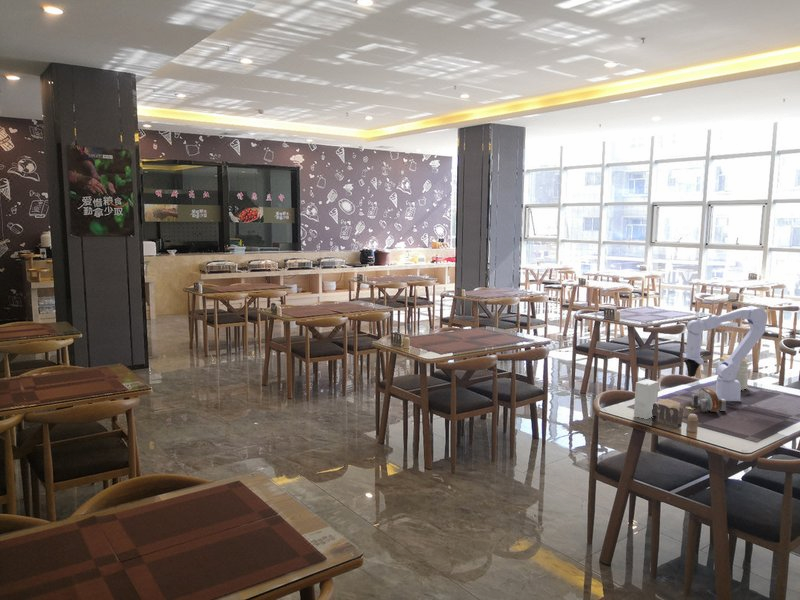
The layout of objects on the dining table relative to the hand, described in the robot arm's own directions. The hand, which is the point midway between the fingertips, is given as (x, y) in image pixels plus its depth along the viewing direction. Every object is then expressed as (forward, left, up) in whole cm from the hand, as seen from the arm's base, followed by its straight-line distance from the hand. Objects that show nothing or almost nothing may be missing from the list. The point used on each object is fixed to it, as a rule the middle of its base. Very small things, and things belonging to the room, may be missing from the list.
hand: (691, 376), depth 283 cm
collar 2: (+1, +21, -10) cm, 23 cm away
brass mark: (+9, +17, -10) cm, 22 cm away
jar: (-29, -17, -10) cm, 35 cm away
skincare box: (+33, +28, -10) cm, 45 cm away
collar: (+1, +13, -10) cm, 17 cm away
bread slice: (+1, +18, -10) cm, 21 cm away
